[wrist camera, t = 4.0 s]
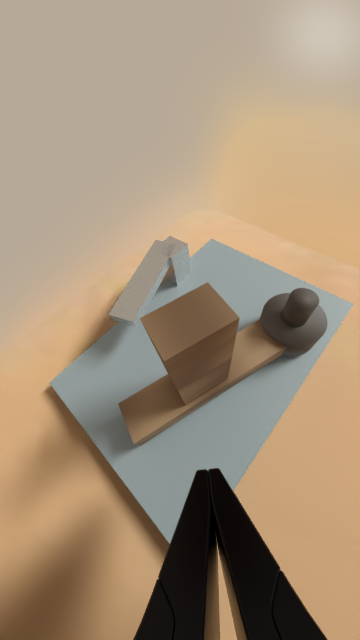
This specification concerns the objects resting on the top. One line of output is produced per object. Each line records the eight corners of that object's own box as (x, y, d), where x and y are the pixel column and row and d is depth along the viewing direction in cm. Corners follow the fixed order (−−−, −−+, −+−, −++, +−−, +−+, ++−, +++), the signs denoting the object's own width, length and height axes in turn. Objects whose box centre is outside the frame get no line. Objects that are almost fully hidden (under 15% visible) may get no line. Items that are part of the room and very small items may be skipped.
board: (187, 557, 12) (185, 565, 11) (56, 386, 18) (49, 382, 17) (346, 311, 18) (353, 303, 18) (211, 246, 24) (211, 238, 24)
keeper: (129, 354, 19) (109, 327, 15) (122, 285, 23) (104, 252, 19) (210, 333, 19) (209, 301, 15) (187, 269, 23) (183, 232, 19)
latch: (286, 300, 18) (336, 194, 11) (328, 338, 16) (424, 237, 9) (121, 398, 15) (42, 344, 8) (146, 457, 13) (69, 455, 6)
